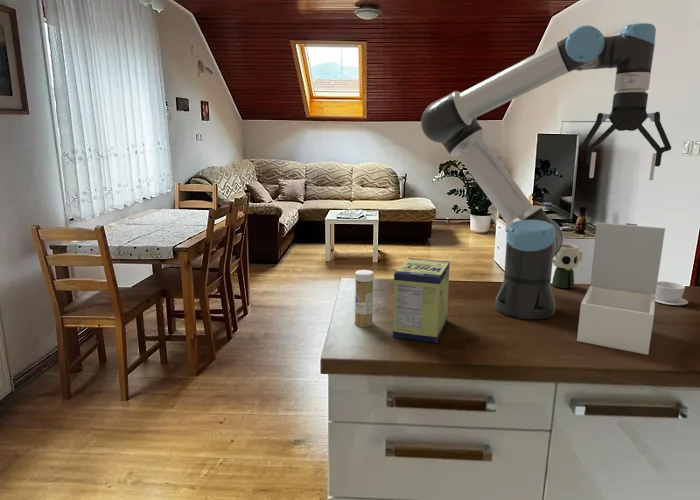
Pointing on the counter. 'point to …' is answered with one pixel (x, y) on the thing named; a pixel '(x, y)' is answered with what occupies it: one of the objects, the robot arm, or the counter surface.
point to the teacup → (670, 293)
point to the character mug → (566, 265)
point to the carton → (617, 319)
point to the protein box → (420, 299)
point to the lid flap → (627, 257)
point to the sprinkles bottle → (364, 298)
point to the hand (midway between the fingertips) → (620, 178)
